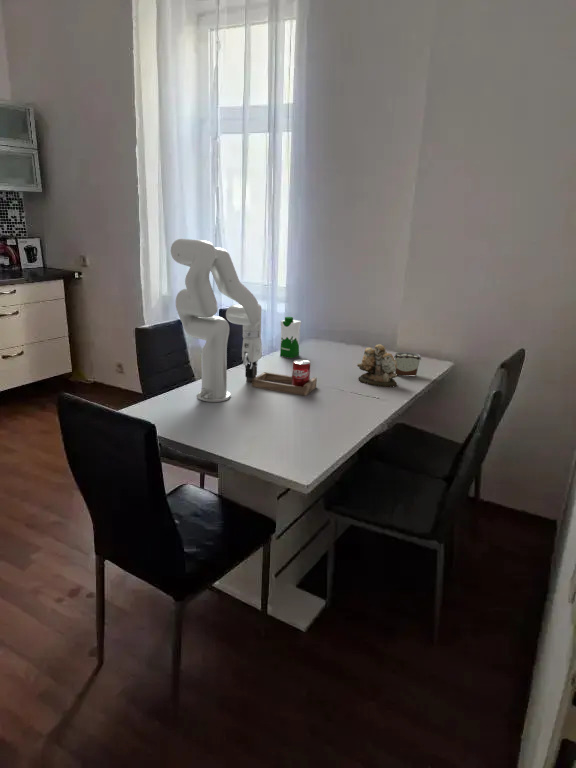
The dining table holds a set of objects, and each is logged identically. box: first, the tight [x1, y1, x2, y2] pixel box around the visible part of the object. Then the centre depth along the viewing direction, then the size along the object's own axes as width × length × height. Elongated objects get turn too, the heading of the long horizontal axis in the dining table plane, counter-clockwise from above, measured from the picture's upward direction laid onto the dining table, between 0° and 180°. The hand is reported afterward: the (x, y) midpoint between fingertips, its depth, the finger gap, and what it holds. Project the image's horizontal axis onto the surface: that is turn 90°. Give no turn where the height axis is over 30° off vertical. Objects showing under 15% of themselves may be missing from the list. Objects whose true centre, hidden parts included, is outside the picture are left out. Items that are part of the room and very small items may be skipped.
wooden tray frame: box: [245, 365, 318, 396], centre depth 218 cm, size 12×29×7 cm, turn 68°
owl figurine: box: [356, 343, 398, 388], centre depth 227 cm, size 18×12×17 cm, turn 65°
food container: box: [393, 351, 422, 376], centre depth 242 cm, size 12×6×10 cm, turn 84°
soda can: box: [291, 359, 312, 387], centre depth 214 cm, size 7×7×12 cm
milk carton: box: [279, 316, 302, 359], centre depth 264 cm, size 9×9×20 cm
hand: (251, 375), depth 223 cm, fingers closed on wooden tray frame, 3 cm apart
